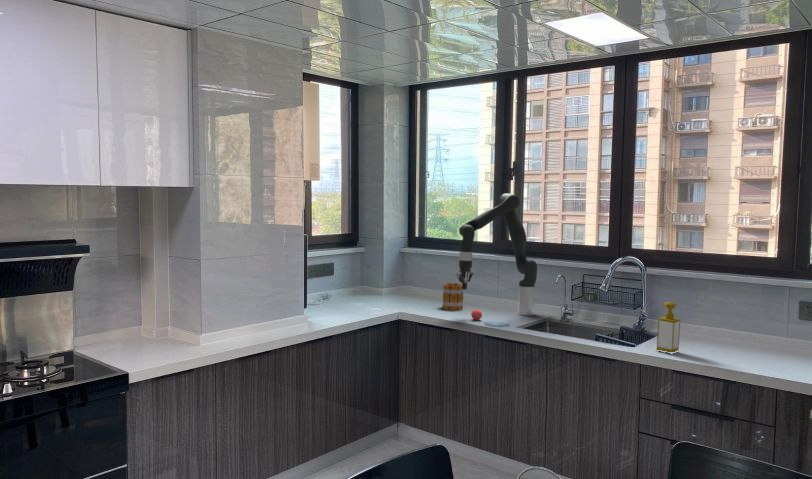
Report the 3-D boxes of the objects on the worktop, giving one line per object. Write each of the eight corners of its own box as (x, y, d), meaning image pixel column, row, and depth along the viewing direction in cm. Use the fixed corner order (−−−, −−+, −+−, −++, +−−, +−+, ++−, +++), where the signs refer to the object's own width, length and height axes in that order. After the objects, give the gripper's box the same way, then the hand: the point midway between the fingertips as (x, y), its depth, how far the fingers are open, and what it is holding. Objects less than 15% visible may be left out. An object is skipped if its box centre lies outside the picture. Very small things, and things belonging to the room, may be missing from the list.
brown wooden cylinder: (459, 311, 371) (460, 286, 369) (438, 309, 376) (439, 285, 375) (468, 306, 389) (469, 283, 388) (448, 304, 394) (449, 281, 393)
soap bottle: (651, 353, 279) (654, 302, 278) (662, 349, 288) (665, 300, 287) (667, 356, 274) (670, 305, 273) (678, 352, 283) (681, 302, 282)
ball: (475, 318, 349) (475, 308, 349) (483, 320, 345) (484, 309, 345) (468, 319, 345) (469, 309, 344) (477, 321, 341) (477, 310, 340)
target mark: (493, 320, 345) (493, 320, 345) (514, 324, 335) (514, 324, 335) (478, 323, 335) (478, 323, 335) (499, 327, 325) (499, 327, 325)
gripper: (463, 260, 342) (462, 291, 343) (477, 259, 351) (476, 289, 352) (453, 259, 347) (451, 289, 348) (467, 258, 357) (466, 287, 358)
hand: (464, 289), depth 350 cm, fingers closed
